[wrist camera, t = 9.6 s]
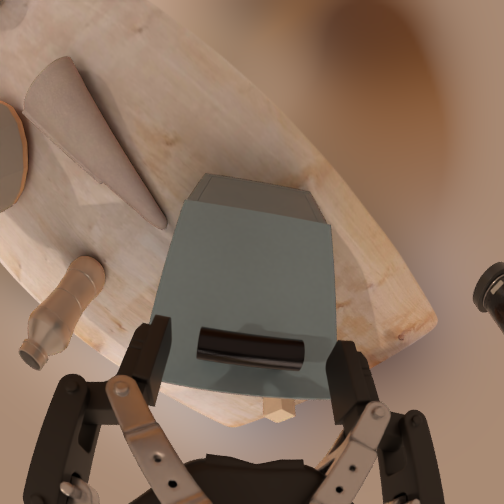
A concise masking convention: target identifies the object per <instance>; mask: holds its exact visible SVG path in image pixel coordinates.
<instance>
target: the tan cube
mask: <svg viewBox="0 0 504 504" xmlns="http://www.w3.org/2000/svg"><path fill="white" fill-rule="evenodd" d="M263 416H264V417H266V418H268V419H270V420H272V421H274V422H277V423H278V422H281V421H284V420H286V419H289V418H292V417H295V404H294V399H280V398H266V397H263Z"/></svg>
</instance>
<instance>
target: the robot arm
mask: <svg viewBox="0 0 504 504" xmlns="http://www.w3.org/2000/svg"><path fill="white" fill-rule="evenodd" d="M482 305H483V307H484V308H485V309H486V310H487V311H488V313H489V314H490V315H491V317H492V318H493V319H494V321H495V322H496V324H497V325H498V327H499V328H500V329H501V331H502V332H503V334H504V273H503V274H501V275H499V276H497V277H496V278H495V279H494V280H493V281H492V282H491V283H490V285H489V286H488V288H487V289H486V291H485V293H484V296H483V299H482ZM171 343H172V323H171V317H167V316H162V315H157V314H156V315H155V316H154V318H153V321H152V323H151V324H146V323H143V324H141V325H140V326H139V327H138V328H137V329H136V330H135V332H134V335H133V337H132V340H131V342H130V344H129V347H128V349H127V351H126V354H125V356H124V358H123V361H122V363H121V366H120V368H119V371H118V373H117V374H116V375H115V376H114V377H112V378H111V379H109V380H108V381H105V382H86V381H85V379H84V378H83V377H81V376H80V375H77V374H68V375H66V376H64V377H63V378H61V380H60V381H59V383H58V386H57V388H56V390H55V393H54V395H53V398H52V401H51V403H50V406H49V408H48V411H47V414H46V416H45V419H44V422H43V425H42V428H41V431H40V434H39V437H38V440H37V443H36V447H35V450H34V453H33V456H32V460H31V464H30V468H29V471H28V476H27V479H26V484H25V488H24V493H23V501H24V504H100V503H99V502H100V500H99V495H98V493H97V491H96V490H95V489H94V488H93V487H92V486H90V485H89V484H88V480H89V475H90V470H91V465H92V461H93V456H94V452H95V448H96V444H97V439H98V436H99V432H100V428H101V425H120V427H121V430H122V432H123V435H124V437H125V439H126V441H127V444H128V446H129V448H130V450H131V452H132V454H133V456H134V457H135V459H136V461H137V463H138V465H139V467H140V469H141V471H142V472H143V474H144V476H145V478H146V479H147V481H148V483H149V484H150V486H151V488H150V489H149V490H147V491H146V492H145V493H144V494H142V495H141V496H139V497H138V498H137V499H135V500H133V501H132V502H130V503H129V504H354V503H353V502H352V501H353V499H354V498H355V496H356V494H357V493H358V491H359V489H360V488H361V486H362V484H363V482H364V481H365V479H366V477H367V475H368V473H369V472H370V470H371V468H372V466H373V464H374V462H375V460H376V458H377V456H378V462H379V469H380V477H381V486H382V495H383V504H445V502H444V496H443V489H442V484H441V479H440V474H439V469H438V464H437V459H436V455H435V451H434V447H433V442H432V439H431V435H430V431H429V427H428V424H427V420H426V418H425V416H424V415H423V414H422V413H421V412H420V411H418V410H410V411H408V412H407V413H406V414H405V415H403V414H399V413H394V412H391V411H390V410H389V408H388V407H387V406H386V405H385V404H384V403H382V402H380V401H379V398H378V395H377V391H376V388H375V385H374V381H373V378H372V376H371V375H372V374H371V372H370V370H369V365H368V362H367V359H366V358H365V357H364V355H363V354H362V353H361V352H357V350H356V347H355V344H354V342H353V341H342V340H338V341H337V342H336V344H335V346H334V348H333V350H332V351H331V353H330V355H329V357H328V359H327V361H326V366H325V370H326V376H327V381H328V386H329V392H330V397H331V403H332V409H333V415H334V421H335V425H343V427H344V429H343V430H342V431H341V433H340V434H339V436H338V438H337V440H336V441H335V442H334V444H333V445H332V447H331V448H330V450H329V451H328V453H327V454H326V456H325V457H324V458H323V460H322V461H321V462H320V463H319V464H318V465H317V466H316V467H315V468H312V467H310V466H307V465H304V463H303V460H302V459H301V460H277V461H271V462H266V463H261V464H253V463H249V462H246V461H243V460H240V459H236V458H233V457H228V456H219V455H212V454H206V458H204V459H196V460H192V461H189V462H187V463H185V464H183V463H182V461H181V460H180V458H179V456H178V455H177V453H176V452H175V450H174V448H173V447H172V445H171V443H170V442H169V440H168V439H167V437H166V435H165V433H164V432H163V430H162V428H161V427H160V425H159V424H158V423H157V422H156V420H155V419H154V417H153V415H152V413H151V411H150V409H149V407H148V405H150V406H155V403H156V400H157V396H158V392H159V389H160V385H161V381H162V378H163V374H164V370H165V367H166V363H167V360H168V356H169V353H170V349H171ZM376 449H377V451H376Z"/></svg>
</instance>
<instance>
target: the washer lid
mask: <svg viewBox="0 0 504 504" xmlns="http://www.w3.org/2000/svg"><path fill="white" fill-rule="evenodd" d="M156 314H157V315H162V316H167V317H171V323H172V343H171V349H170V353H169V356H168V360H167V363H166V367H165V370H164V374H163V378H162V381H161V382H165V383H169V384H174V385H179V386H185V387H190V388H196V389H201V390H208V391H214V392H221V393H229V394H236V395H245V396H255V397H266V398H280V399H300V400H331V397H330V392H329V386H328V381H327V376H326V370H325V366H326V361H327V359H328V357H329V355H330V353H331V351H332V350H333V348H334V346H335V344H336V342H337V330H336V295H335V275H334V259H333V245H332V233H331V225H329V224H324V223H319V222H314V221H309V220H304V219H299V218H293V217H288V216H283V215H277V214H272V213H266V212H260V211H255V210H249V209H243V208H237V207H231V206H224V205H218V204H212V203H205V202H199V201H192V200H185V201H184V204H183V207H182V210H181V213H180V216H179V219H178V222H177V225H176V228H175V231H174V235H173V238H172V241H171V244H170V248H169V251H168V254H167V258H166V261H165V265H164V268H163V272H162V275H161V279H160V283H159V286H158V290H157V294H156V298H155V302H154V306H153V310H152V314H151V318H150V322H149V324H151V323H152V321H153V318H154V316H155V315H156Z"/></svg>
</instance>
